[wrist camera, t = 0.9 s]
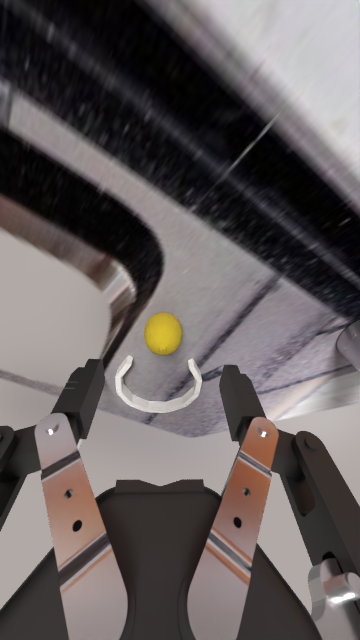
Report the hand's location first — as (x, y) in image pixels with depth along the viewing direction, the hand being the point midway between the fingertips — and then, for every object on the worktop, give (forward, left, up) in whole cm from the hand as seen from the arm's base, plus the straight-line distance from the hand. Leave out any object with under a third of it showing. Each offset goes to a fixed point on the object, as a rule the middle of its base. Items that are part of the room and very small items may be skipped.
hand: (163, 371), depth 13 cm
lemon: (0, +8, -20) cm, 22 cm away
